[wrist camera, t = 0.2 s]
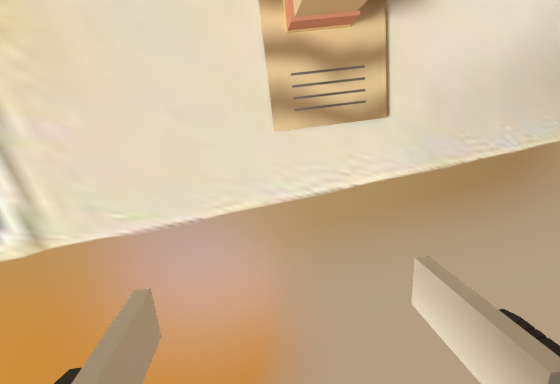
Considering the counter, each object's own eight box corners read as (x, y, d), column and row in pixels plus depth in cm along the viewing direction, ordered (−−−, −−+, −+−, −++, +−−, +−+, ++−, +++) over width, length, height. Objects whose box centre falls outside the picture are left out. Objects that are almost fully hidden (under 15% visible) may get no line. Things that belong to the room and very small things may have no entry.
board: (256, -19, 34) (256, -21, 33) (382, -30, 35) (385, -33, 34) (274, 131, 38) (274, 131, 38) (384, 117, 40) (386, 117, 39)
